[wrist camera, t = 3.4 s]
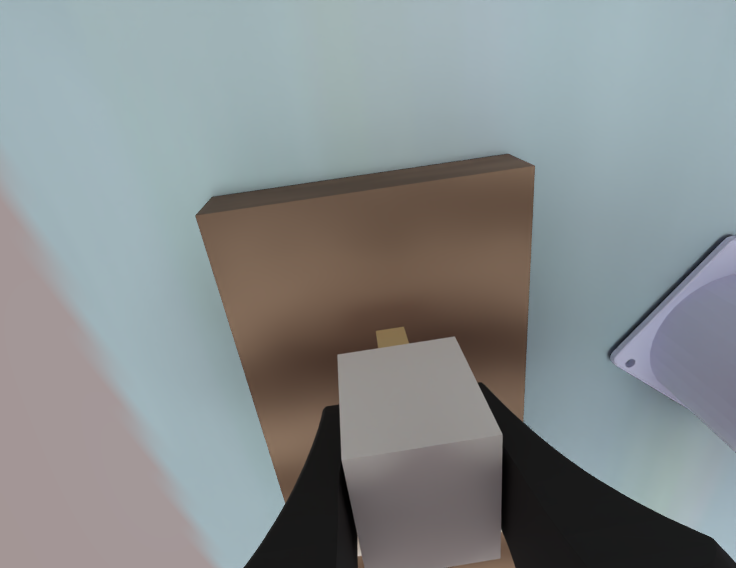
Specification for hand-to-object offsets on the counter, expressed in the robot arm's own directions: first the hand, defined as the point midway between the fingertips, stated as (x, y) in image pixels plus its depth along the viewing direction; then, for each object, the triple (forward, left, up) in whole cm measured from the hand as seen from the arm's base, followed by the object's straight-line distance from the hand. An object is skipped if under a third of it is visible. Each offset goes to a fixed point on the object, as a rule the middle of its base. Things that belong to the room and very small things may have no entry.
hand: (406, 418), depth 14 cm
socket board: (-4, +5, -7) cm, 10 cm away
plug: (0, 0, -3) cm, 3 cm away
